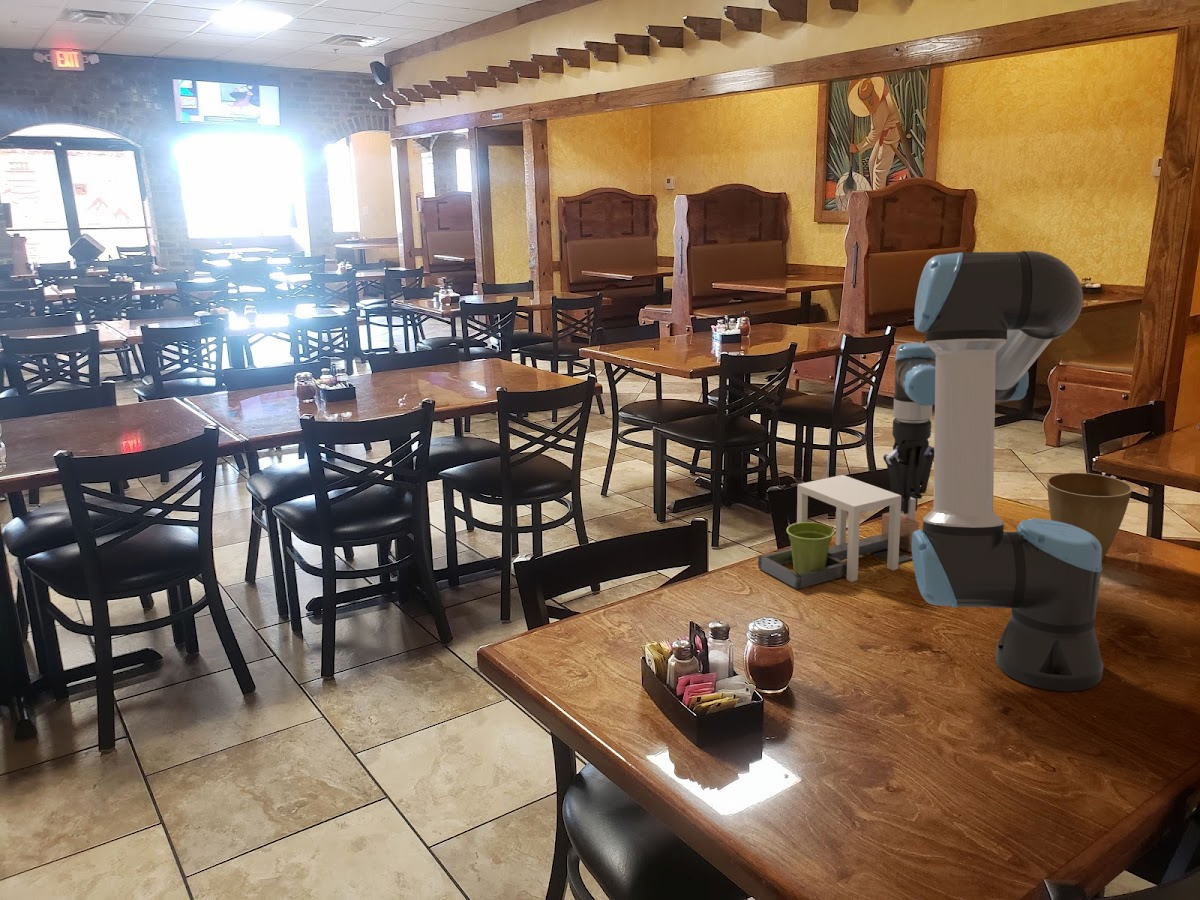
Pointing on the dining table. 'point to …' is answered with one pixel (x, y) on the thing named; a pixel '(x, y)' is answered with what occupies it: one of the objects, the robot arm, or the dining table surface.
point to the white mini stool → (854, 515)
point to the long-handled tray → (835, 556)
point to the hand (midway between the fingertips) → (907, 526)
